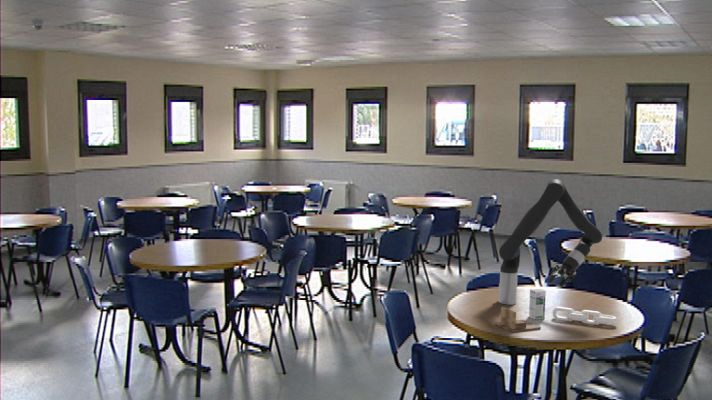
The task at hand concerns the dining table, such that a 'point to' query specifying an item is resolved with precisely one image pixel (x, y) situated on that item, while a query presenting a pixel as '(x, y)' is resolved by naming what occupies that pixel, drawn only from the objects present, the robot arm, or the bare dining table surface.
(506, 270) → the robot arm
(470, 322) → the dining table surface
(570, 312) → the chain
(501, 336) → the dining table surface
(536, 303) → the syrup box
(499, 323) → the dock
